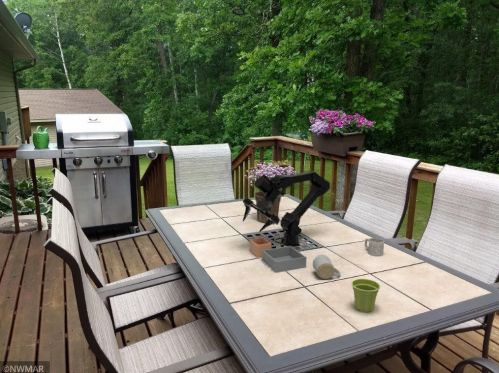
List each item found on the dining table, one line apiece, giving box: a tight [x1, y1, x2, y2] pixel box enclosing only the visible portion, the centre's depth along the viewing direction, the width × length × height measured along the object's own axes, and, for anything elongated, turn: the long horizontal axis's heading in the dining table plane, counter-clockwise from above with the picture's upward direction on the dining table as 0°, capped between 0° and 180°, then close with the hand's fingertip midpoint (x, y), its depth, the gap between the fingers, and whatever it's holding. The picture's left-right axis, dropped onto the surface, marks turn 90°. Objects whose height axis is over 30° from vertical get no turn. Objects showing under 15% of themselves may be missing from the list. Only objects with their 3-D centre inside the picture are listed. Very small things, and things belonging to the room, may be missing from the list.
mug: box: [364, 237, 385, 257], centre depth 184 cm, size 10×7×7 cm, turn 31°
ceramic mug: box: [312, 254, 342, 280], centre depth 160 cm, size 11×8×8 cm
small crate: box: [249, 237, 272, 259], centre depth 184 cm, size 7×9×6 cm
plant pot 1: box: [254, 190, 282, 224], centre depth 233 cm, size 16×16×16 cm
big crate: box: [261, 245, 307, 273], centre depth 172 cm, size 14×14×5 cm
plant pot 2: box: [351, 278, 381, 313], centre depth 134 cm, size 9×9×9 cm
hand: (251, 226), depth 181 cm, fingers open, 9 cm apart
